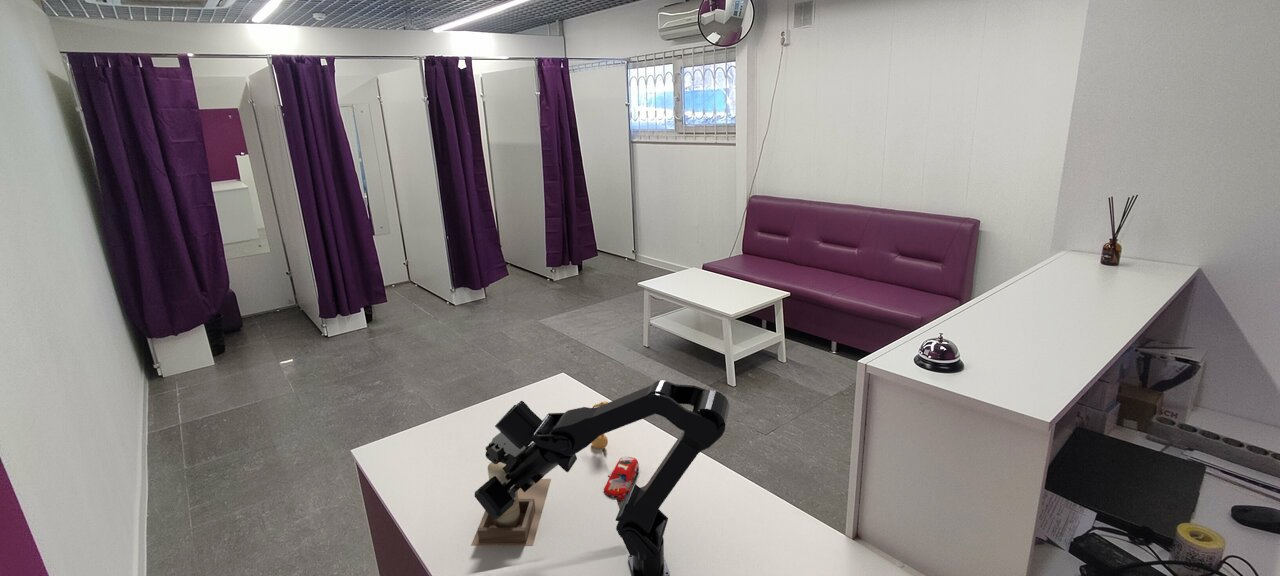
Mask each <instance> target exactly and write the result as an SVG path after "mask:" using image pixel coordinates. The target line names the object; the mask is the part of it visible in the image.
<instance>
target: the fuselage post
mask: <svg viewBox="0 0 1280 576" xmlns="http://www.w3.org/2000/svg"><path fill="white" fill-rule="evenodd" d="M504 466H506V464H503V463H501V462H499V463H498V464H494V463H492V462H491V461H490V463H489V464H488V466H487V475H488V480H490V479H491V478H492V477H494V476H496V477H497V479H498V480H499V481H500V482H501V483H502V484H503V483H504V482H506V484H507V483H508V482H509V481H510V479H509V480H508V481H507V480H506V479H505V476H506V475H507V474H508V473H506V472H505V471H504V470H503V469H502V468H503V467H504ZM514 486H515V485H513V486H512V487H514ZM512 487H511V488H512ZM511 488H510V489H511ZM514 500H515V502H514V503H513V505H512V506H511V507H510V508H509V509H508V510H507V511H506V512H505V513H504V514H503V515H502V516H500V517H499V518H498V519H495V525H496V527H497V528H514V527H516V526H517V525H518V524H519V523H520V521H521V516H520V508H519V499H518V491H516V497H515V498H514Z"/></svg>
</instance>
